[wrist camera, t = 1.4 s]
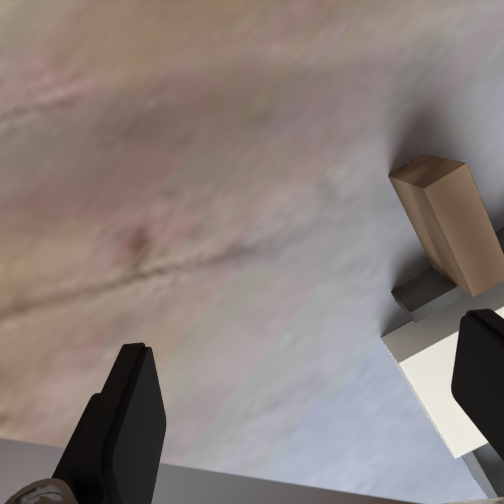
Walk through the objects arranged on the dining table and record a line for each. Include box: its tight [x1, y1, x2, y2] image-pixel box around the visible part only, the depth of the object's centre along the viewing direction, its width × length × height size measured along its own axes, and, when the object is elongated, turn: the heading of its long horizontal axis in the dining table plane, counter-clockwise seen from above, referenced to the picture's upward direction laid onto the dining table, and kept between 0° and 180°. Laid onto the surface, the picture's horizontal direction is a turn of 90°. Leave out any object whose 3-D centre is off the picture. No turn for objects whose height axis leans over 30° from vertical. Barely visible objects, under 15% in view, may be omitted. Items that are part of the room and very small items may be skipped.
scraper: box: [388, 155, 504, 323], centre depth 30 cm, size 12×11×6 cm
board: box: [381, 281, 504, 459], centre depth 35 cm, size 16×14×4 cm
